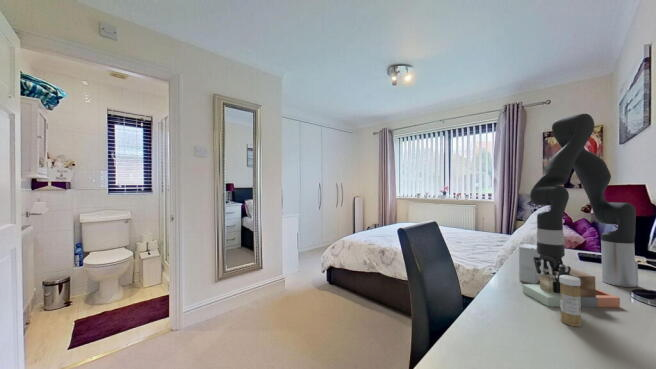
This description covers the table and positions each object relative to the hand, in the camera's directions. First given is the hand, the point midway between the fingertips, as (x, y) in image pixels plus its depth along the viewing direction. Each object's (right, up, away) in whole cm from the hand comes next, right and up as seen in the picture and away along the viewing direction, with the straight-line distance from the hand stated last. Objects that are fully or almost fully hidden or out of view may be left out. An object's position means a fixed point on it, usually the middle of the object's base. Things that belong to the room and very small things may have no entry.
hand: (551, 289), depth 93 cm
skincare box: (+7, -4, +19) cm, 20 cm away
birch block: (+3, 0, 0) cm, 3 cm away
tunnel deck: (+6, -3, 0) cm, 6 cm away
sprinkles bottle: (-9, -3, -17) cm, 19 cm away
